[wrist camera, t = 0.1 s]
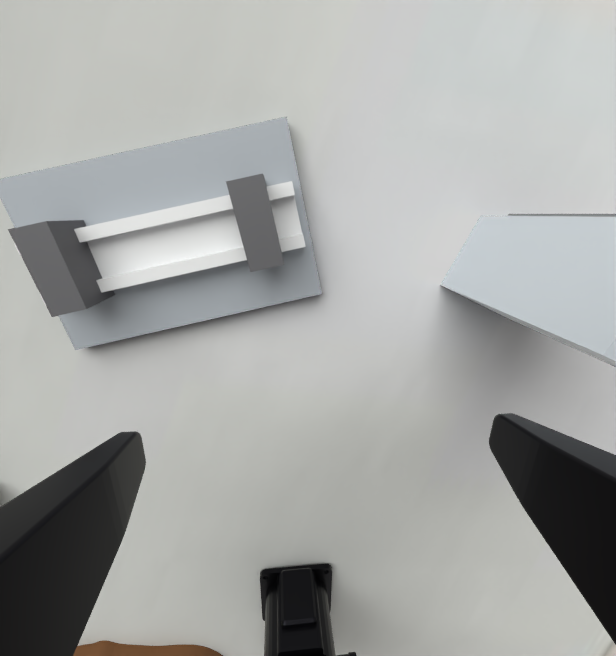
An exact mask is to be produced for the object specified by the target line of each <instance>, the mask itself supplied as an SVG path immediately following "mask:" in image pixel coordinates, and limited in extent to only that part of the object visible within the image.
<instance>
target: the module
mask: <svg viewBox="0 0 616 656" xmlns="http://www.w3.org/2000/svg"><path fill="white" fill-rule="evenodd" d="M441 286H443V287H445V288H447V289H449V290H451V291H453V292H455V293H458V294H460V295H462V296H464V297H466V298H468V299H470V300H472V301H474V302H476V303H478V304H480V305H482V306H484V307H486V308H488V309H490V310H492V311H494V312H496V313H498V314H500V315H502V316H504V317H506V318H508V319H510V320H513V321H515V322H517V323H519V324H521V325H524V326H526V327H528V328H530V329H533V330H535V331H537V332H539V333H541V334H544V335H546V336H548V337H550V338H553V339H555V340H557V341H559V342H561V343H564V344H566V345H568V346H570V347H573V348H575V349H577V350H579V351H581V352H584V353H586V354H588V355H590V356H593V357H595V358H597V359H599V360H601V361H604V362H606V363H608V364H610V365H613V366H615V367H616V214H509V215H508V216H480V218H479V220H478V222H477V223H476V225H475V227H474V228H473V230H472V232H471V234H470V235H469V237H468V239H467V240H466V242H465V244H464V246H463V247H462V249H461V251H460V252H459V254H458V256H457V257H456V259H455V261H454V263H453V264H452V266H451V268H450V269H449V271H448V273H447V275H446V276H445V278H444V280H443V281H442V283H441Z"/></svg>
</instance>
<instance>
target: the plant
mask: <svg viewBox="0 0 616 656" xmlns="http://www.w3.org/2000/svg"><path fill="white" fill-rule="evenodd" d="M73 656H223V655H221V654H220V653H218V652H216V651H214V650H212V649H210V648H207V647H203V646H198V645H168V646H143V645H127V644H118V643H114V642H110V641H99V642H96V643H93V644H87V645H81V646H77V648H76V650H75V652H74V655H73Z"/></svg>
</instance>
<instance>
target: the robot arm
mask: <svg viewBox="0 0 616 656" xmlns="http://www.w3.org/2000/svg"><path fill="white" fill-rule="evenodd" d="M489 445H490V449H491V451H492V453H493V455H494V456H495V458H496V460H497V462H498V464H499V465H500V467H501V469H502V471H503V473H504V474H505V476H506V478H507V480H508V482H509V483H510V485H511V487H512V489H513V491H514V492H515V494H516V496H517V498H518V499H519V501H520V503H521V505H522V506H523V508H524V509H525V511H526V512H527V514H528V515H529V517H530V518H531V520H532V521H533V523H534V524H535V526H536V527H537V529H538V530H539V532H540V533H541V535H542V536H543V538H544V539H545V541H546V542H547V544H548V545H549V546H550V548H551V549H552V551H553V552H554V554H555V555H556V557H557V558H558V560H559V561H560V563H561V564H562V566H563V567H564V569H565V570H566V572H567V573H568V575H569V576H570V578H571V579H572V581H573V582H574V584H575V585H576V586H577V588H578V589H579V591H580V592H581V594H582V595H583V597H584V598H585V600H586V601H587V603H588V604H589V606H590V607H591V609H592V610H593V612H594V613H595V615H596V616H597V618H598V619H599V621H600V622H601V624H602V625H603V626H604V628H605V629H606V631H607V632H608V634H609V635H610V637H611V638H612V640H613V641H614V643H615V644H616V455H614V454H611V453H609V452H606V451H604V450H601V449H599V448H596V447H594V446H592V445H589V444H587V443H584V442H582V441H579V440H577V439H574V438H572V437H569V436H567V435H565V434H562V433H560V432H557V431H555V430H552V429H550V428H547V427H545V426H542V425H540V424H538V423H535V422H533V421H530V420H528V419H525V418H523V417H520V416H518V415H515V414H511V413H510V414H498V415H496V416H495V418H494V421H493V425H492V429H491V434H490V438H489ZM145 465H146V459H145V454H144V449H143V443H142V438H141V435H140V433H138V432H121V433H118V434H117V435H115V436H114V437H112V438H110V439H109V440H107V441H106V442H104V443H102V444H101V445H99V446H98V447H96V448H94V449H93V450H91V451H90V452H88V453H86V454H85V455H83V456H82V457H80V458H78V459H77V460H75V461H73V462H72V463H70V464H69V465H67V466H65V467H64V468H62V469H61V470H59V471H57V472H56V473H54V474H53V475H51V476H49V477H48V478H46V479H45V480H43V481H41V482H40V483H38V484H37V485H35V486H33V487H32V488H30V489H29V490H27V491H25V492H24V493H22V494H21V495H19V496H17V497H16V498H14V499H12V500H11V501H9V502H8V503H6V504H4V505H3V506H1V507H0V656H73V655H74V652H75V650H76V648H77V645H78V643H79V640H80V638H81V636H82V633H83V631H84V629H85V626H86V624H87V622H88V619H89V617H90V615H91V612H92V610H93V608H94V605H95V603H96V601H97V598H98V596H99V593H100V591H101V589H102V586H103V584H104V582H105V579H106V577H107V575H108V572H109V570H110V568H111V565H112V563H113V561H114V558H115V556H116V554H117V551H118V549H119V546H120V544H121V542H122V539H123V536H124V534H125V531H126V528H127V525H128V522H129V519H130V516H131V512H132V509H133V506H134V503H135V499H136V496H137V493H138V490H139V486H140V483H141V480H142V477H143V474H144V470H145ZM331 581H332V569H331V565H329V564H318V565H307V566H296V567H285V568H274V569H265V570H262V571H261V573H260V585H261V600H262V616H263V620H264V621H265V646H264V656H335V648H334V641H333V633H332V626H331V619H330V608H331ZM337 656H356V653H355V652H349V654H346V655H337Z"/></svg>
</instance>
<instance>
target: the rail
mask: <svg viewBox="0 0 616 656" xmlns="http://www.w3.org/2000/svg"><path fill="white" fill-rule="evenodd" d="M0 198H1V200H2V203H3V205H4V207H5V209H6V211H7V213H8V215H9V217H10V219H11V221H12V223H13V225H14V227H15V228H13V229H8V230H9V232H10V234H11V236H12V238H13V240H14V244H15V246H16V248H17V250H18V252H19V254H20V256H22V258H23V260H24V262H25V264H26V266H27V268H28V270H29V272H30V274H31V276H32V278H33V280H34V282H35V284H36V286H37V288H38V290H39V292H40V293H39V294H40V296H41V298H42V300H43V302H44V304H45V305H46V306H47V308H48V310H49V312H50V314H51V316H52V317H54V316H59V318H60V320H61V322H62V324H63V326H64V328H65V330H66V332H67V334H68V336H69V338H70V340H71V342H72V344H73V346H74V348H75V350H78V349H82V348H87V347H91V346H95V345H100V344H104V343H109V342H113V341H117V340H122V339H126V338H131V337H135V336H139V335H144V334H148V333H153V332H157V331H161V330H166V329H170V328H175V327H179V326H183V325H188V324H192V323H197V322H201V321H205V320H210V319H214V318H219V317H223V316H227V315H232V314H236V313H241V312H245V311H249V310H254V309H258V308H263V307H267V306H271V305H276V304H280V303H284V302H289V301H293V300H298V299H302V298H306V297H311V296H315V295H320V294H322V291H321V286H320V281H319V276H318V271H317V266H316V261H315V256H314V251H313V246H312V241H311V236H310V231H309V226H308V221H307V216H306V211H305V206H304V201H303V196H302V191H301V186H300V181H299V176H298V171H297V166H296V161H295V156H294V151H293V146H292V141H291V136H290V131H289V126H288V121H287V117H282V118H278V119H273V120H269V121H264V122H259V123H255V124H250V125H246V126H241V127H236V128H232V129H227V130H223V131H218V132H213V133H209V134H204V135H200V136H195V137H190V138H186V139H181V140H177V141H172V142H167V143H163V144H158V145H154V146H149V147H144V148H140V149H135V150H131V151H126V152H121V153H117V154H112V155H108V156H103V157H98V158H94V159H89V160H85V161H80V162H76V163H71V164H66V165H62V166H57V167H53V168H48V169H43V170H39V171H34V172H30V173H25V174H20V175H16V176H11V177H7V178H2V179H0Z"/></svg>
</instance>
